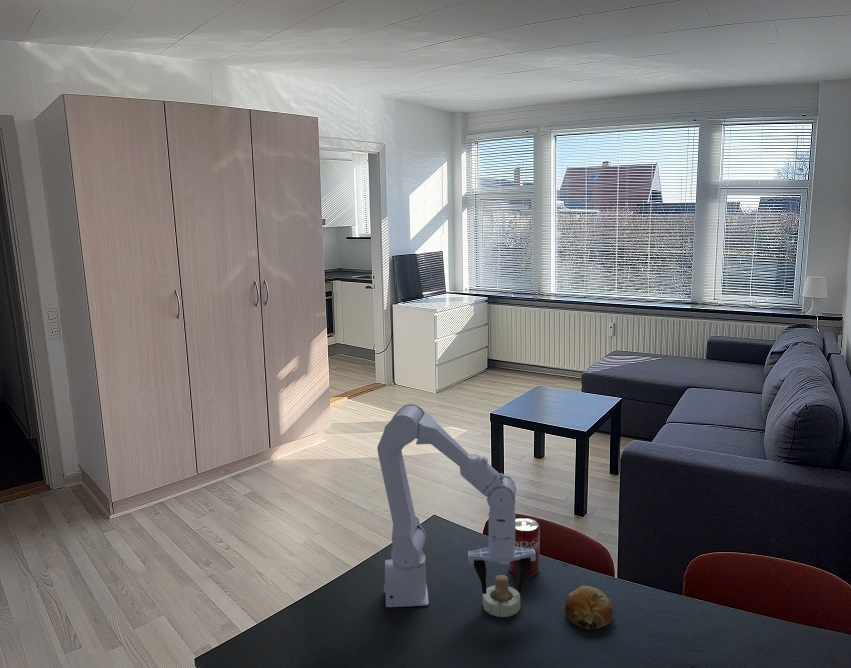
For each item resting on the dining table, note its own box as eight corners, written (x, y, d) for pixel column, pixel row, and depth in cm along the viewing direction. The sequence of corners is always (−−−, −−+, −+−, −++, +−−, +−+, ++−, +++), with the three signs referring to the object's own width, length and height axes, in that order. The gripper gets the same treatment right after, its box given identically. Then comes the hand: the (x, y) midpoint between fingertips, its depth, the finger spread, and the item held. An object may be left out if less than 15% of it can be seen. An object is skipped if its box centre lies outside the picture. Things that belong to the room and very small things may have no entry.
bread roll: (616, 634, 135) (624, 596, 136) (595, 636, 128) (605, 596, 129) (574, 615, 142) (583, 579, 143) (553, 616, 134) (562, 578, 136)
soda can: (541, 578, 150) (542, 531, 148) (510, 578, 150) (511, 531, 148) (536, 562, 157) (537, 517, 155) (507, 562, 158) (507, 517, 156)
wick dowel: (496, 607, 138) (496, 582, 137) (494, 600, 141) (494, 575, 140) (508, 607, 138) (509, 581, 137) (507, 599, 141) (507, 574, 140)
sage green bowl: (486, 617, 136) (486, 606, 135) (480, 596, 143) (480, 585, 143) (523, 615, 136) (523, 605, 136) (515, 594, 144) (515, 584, 143)
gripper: (470, 543, 132) (470, 602, 135) (539, 540, 133) (538, 599, 136) (466, 527, 139) (467, 584, 142) (531, 525, 140) (531, 581, 142)
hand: (501, 590), depth 139 cm, fingers open, 7 cm apart
